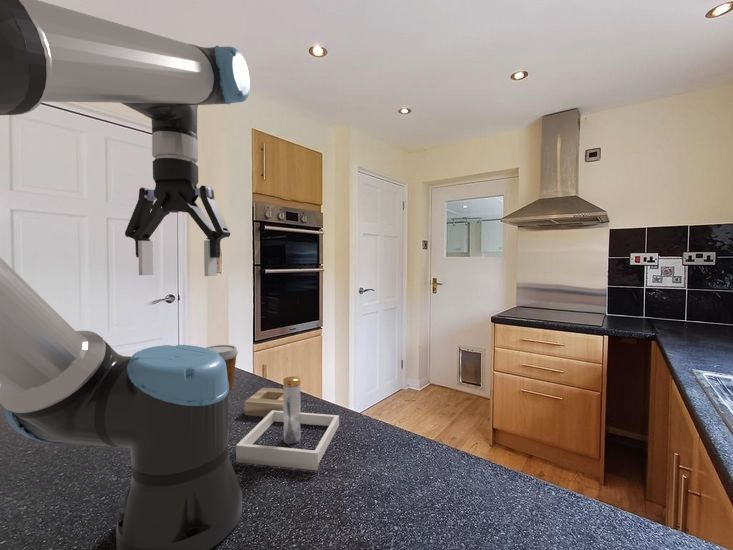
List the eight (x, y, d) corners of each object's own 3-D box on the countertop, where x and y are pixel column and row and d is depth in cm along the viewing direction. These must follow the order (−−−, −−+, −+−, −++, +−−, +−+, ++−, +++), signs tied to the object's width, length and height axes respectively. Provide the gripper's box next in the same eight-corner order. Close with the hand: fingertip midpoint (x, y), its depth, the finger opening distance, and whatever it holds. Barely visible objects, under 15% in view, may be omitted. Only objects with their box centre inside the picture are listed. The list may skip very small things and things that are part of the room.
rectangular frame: (317, 470, 61) (317, 453, 61) (236, 461, 63) (235, 445, 63) (339, 429, 75) (339, 415, 75) (272, 423, 78) (272, 410, 78)
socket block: (282, 422, 79) (282, 404, 78) (244, 419, 80) (244, 401, 80) (297, 405, 87) (297, 389, 87) (262, 403, 89) (262, 387, 89)
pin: (297, 445, 67) (296, 382, 67) (281, 443, 68) (280, 381, 67) (302, 436, 71) (302, 377, 70) (287, 435, 71) (287, 376, 71)
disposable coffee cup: (230, 400, 91) (229, 353, 90) (193, 399, 91) (192, 353, 91) (243, 386, 100) (243, 344, 100) (210, 386, 101) (209, 344, 100)
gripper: (248, 164, 68) (249, 275, 69) (133, 169, 72) (135, 273, 73) (226, 152, 61) (227, 277, 62) (100, 158, 65) (103, 275, 66)
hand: (177, 275), depth 67 cm, fingers open, 13 cm apart
